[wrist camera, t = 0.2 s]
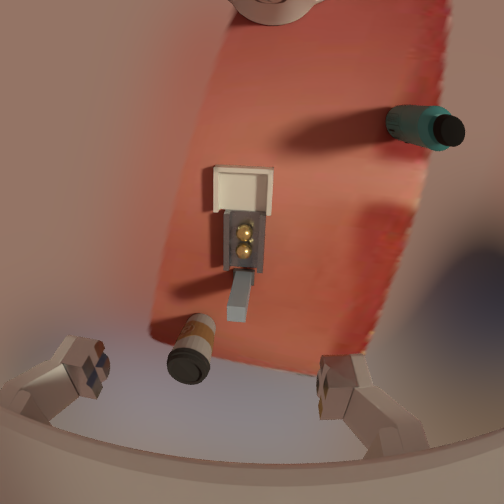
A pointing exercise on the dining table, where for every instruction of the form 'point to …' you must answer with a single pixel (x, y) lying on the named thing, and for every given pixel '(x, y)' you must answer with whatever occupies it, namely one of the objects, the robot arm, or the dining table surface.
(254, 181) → the ball tray
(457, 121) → the beverage bottle
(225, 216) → the slot rail
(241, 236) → the gold metallic ball
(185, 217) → the dining table surface
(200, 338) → the coffee cup
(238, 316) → the tall gray pillar
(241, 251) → the brass sphere
